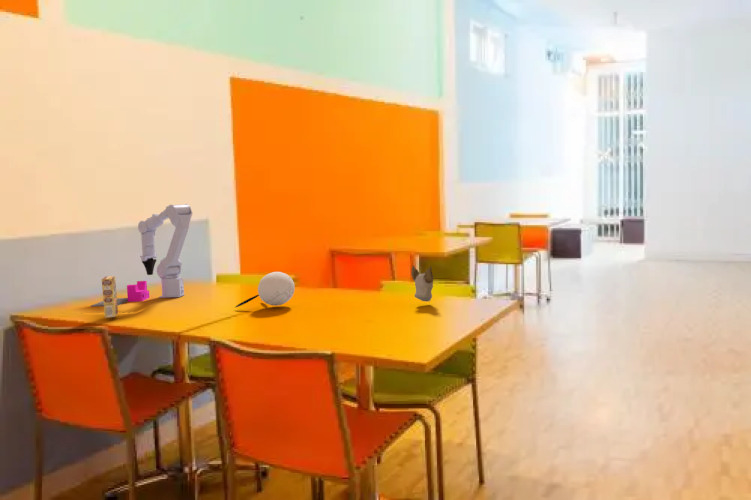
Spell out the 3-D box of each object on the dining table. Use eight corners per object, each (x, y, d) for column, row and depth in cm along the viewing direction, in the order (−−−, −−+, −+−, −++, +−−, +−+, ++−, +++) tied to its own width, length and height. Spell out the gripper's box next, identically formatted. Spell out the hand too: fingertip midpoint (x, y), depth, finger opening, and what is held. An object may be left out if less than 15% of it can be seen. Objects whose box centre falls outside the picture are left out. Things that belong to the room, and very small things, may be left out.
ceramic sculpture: (442, 301, 289) (441, 265, 288) (428, 304, 283) (427, 267, 282) (421, 299, 297) (420, 263, 295) (408, 302, 290) (407, 265, 289)
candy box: (115, 317, 279) (112, 278, 278) (104, 318, 278) (101, 278, 277) (118, 313, 287) (115, 275, 286) (107, 314, 286) (104, 276, 285)
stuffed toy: (311, 290, 297) (269, 316, 308) (296, 261, 299) (255, 288, 310) (284, 297, 280) (242, 324, 292) (269, 266, 282) (227, 295, 294)
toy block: (141, 301, 319) (140, 285, 318) (127, 302, 319) (126, 285, 319) (152, 296, 334) (151, 280, 333) (139, 297, 334) (138, 281, 334)
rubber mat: (134, 298, 328) (134, 296, 328) (116, 305, 308) (116, 303, 308) (110, 299, 328) (110, 297, 328) (90, 306, 309) (90, 304, 309)
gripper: (145, 245, 345) (147, 273, 346) (134, 247, 331) (135, 276, 332) (160, 244, 345) (161, 272, 346) (149, 247, 330) (150, 276, 331)
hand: (150, 274), depth 339 cm, fingers closed
